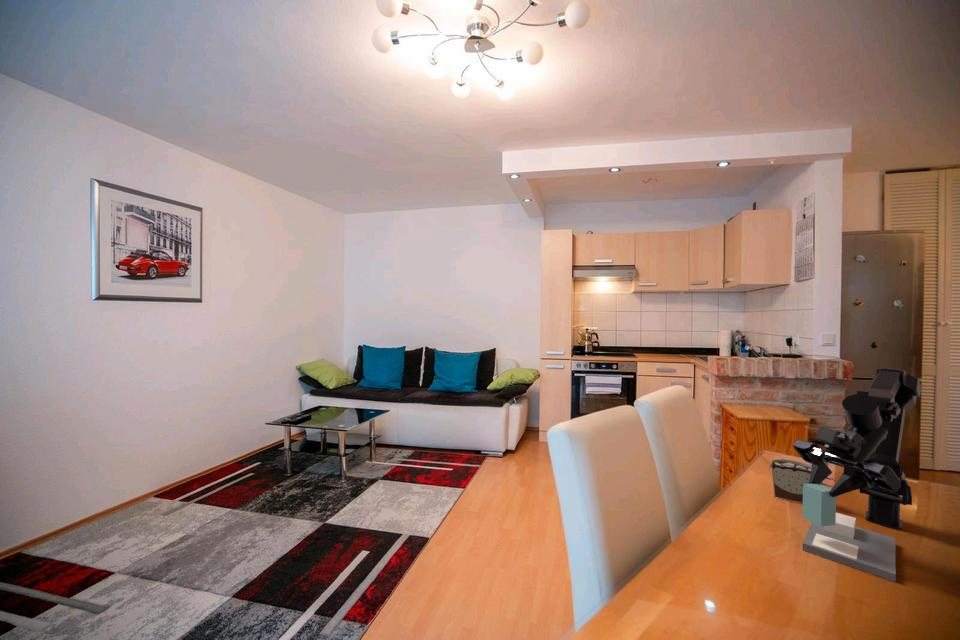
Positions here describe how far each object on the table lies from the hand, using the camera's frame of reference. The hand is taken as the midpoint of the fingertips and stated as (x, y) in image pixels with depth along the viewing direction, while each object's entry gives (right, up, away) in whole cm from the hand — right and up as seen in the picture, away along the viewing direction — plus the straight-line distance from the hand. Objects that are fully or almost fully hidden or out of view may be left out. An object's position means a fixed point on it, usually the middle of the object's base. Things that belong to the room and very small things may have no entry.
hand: (820, 491), depth 88 cm
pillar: (0, -7, 0) cm, 7 cm away
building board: (+7, -13, 0) cm, 14 cm away
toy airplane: (+30, -14, +40) cm, 52 cm away
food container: (+14, -13, +26) cm, 32 cm away
